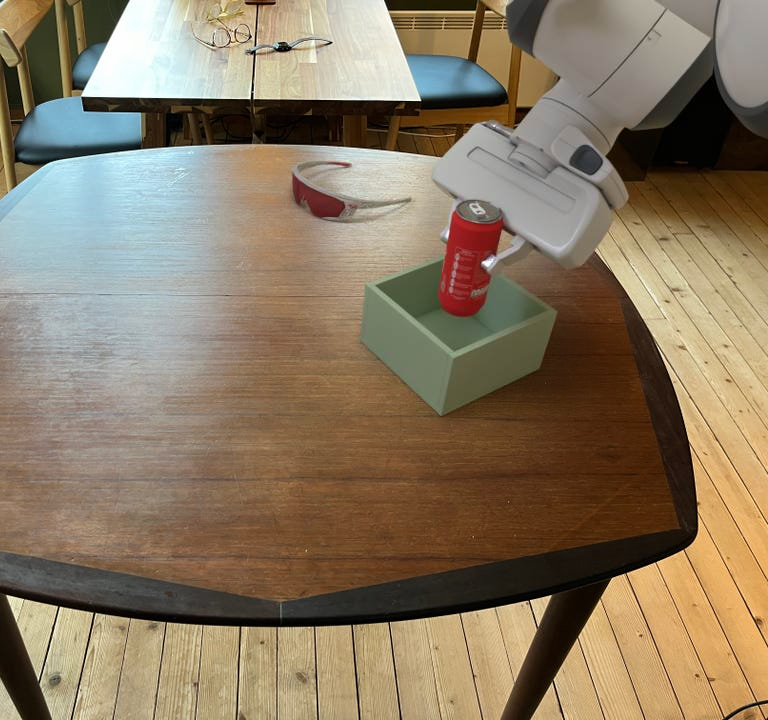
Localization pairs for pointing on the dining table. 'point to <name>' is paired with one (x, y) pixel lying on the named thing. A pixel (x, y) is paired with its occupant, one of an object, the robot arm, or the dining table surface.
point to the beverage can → (469, 257)
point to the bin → (453, 335)
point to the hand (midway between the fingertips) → (465, 257)
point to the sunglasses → (330, 195)
